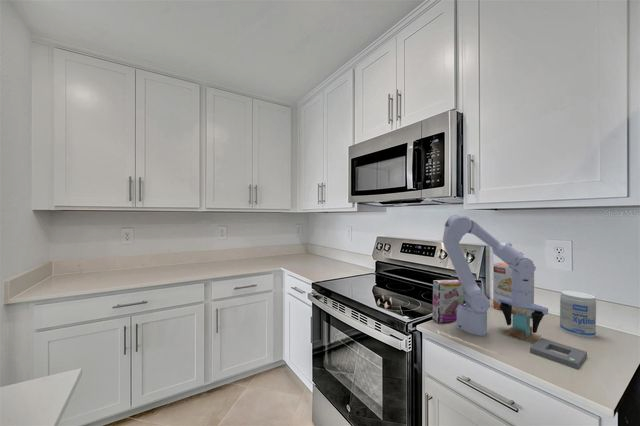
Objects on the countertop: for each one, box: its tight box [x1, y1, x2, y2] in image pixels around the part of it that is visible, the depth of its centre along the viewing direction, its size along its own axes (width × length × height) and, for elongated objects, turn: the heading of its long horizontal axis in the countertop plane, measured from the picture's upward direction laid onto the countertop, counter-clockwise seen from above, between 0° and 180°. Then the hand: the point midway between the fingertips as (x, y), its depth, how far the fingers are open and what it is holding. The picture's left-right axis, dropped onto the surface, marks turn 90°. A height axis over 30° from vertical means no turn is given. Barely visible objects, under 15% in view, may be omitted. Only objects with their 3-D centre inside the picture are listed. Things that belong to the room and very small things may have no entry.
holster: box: [501, 325, 542, 345], centre depth 95 cm, size 9×9×4 cm
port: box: [529, 337, 588, 370], centre depth 82 cm, size 11×11×3 cm
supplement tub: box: [559, 290, 597, 338], centre depth 98 cm, size 10×10×15 cm
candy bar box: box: [432, 279, 465, 324], centre depth 110 cm, size 11×5×16 cm, turn 97°
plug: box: [512, 312, 531, 338], centre depth 95 cm, size 4×4×7 cm
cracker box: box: [492, 262, 535, 318], centre depth 119 cm, size 14×6×21 cm, turn 25°
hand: (521, 328), depth 95 cm, fingers open, 7 cm apart
